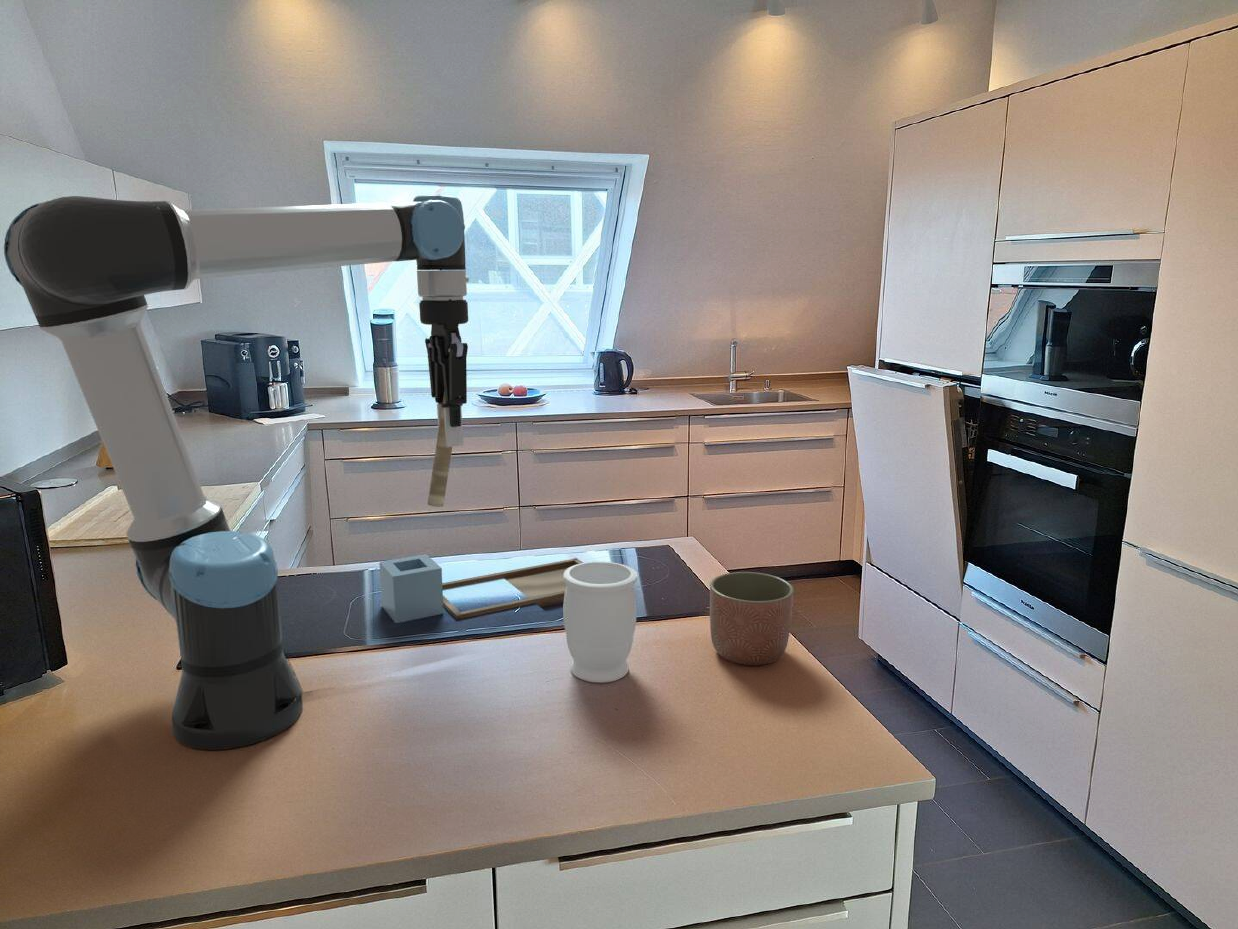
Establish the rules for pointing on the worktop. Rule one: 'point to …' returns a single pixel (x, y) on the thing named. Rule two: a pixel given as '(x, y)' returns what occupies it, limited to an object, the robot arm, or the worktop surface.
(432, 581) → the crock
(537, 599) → the tray
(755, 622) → the planter
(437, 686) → the worktop surface
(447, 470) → the dowel
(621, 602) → the jar
